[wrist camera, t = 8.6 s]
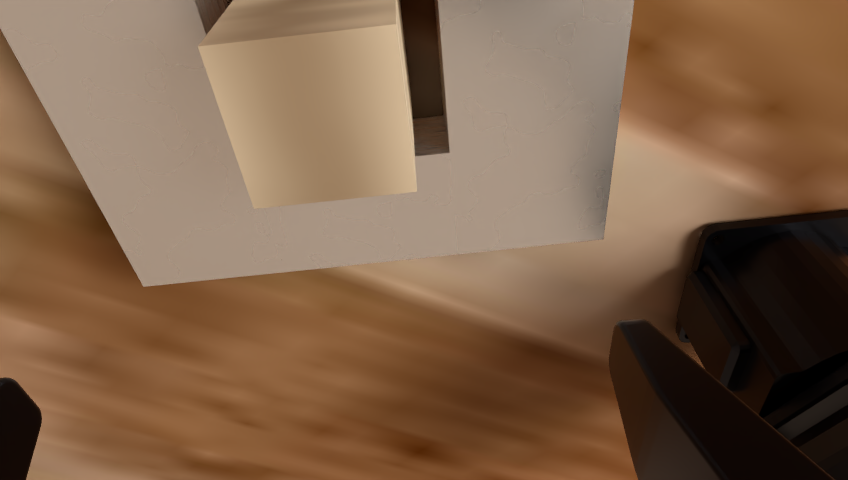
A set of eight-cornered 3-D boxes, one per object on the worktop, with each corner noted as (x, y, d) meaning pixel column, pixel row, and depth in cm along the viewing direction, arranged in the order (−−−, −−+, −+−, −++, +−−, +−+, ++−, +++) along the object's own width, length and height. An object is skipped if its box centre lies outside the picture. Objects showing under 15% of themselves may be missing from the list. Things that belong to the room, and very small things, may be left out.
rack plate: (633, -319, 13) (684, -343, 10) (583, 198, 21) (606, 244, 19) (-66, -231, 13) (-157, -235, 11) (165, 242, 22) (140, 292, 20)
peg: (394, -45, 16) (396, 23, 11) (410, 89, 18) (417, 192, 14) (254, -28, 16) (197, 46, 11) (289, 103, 19) (253, 209, 14)
